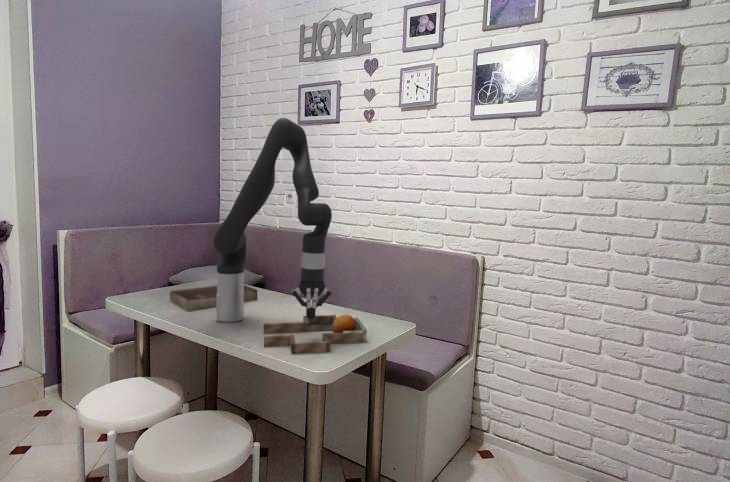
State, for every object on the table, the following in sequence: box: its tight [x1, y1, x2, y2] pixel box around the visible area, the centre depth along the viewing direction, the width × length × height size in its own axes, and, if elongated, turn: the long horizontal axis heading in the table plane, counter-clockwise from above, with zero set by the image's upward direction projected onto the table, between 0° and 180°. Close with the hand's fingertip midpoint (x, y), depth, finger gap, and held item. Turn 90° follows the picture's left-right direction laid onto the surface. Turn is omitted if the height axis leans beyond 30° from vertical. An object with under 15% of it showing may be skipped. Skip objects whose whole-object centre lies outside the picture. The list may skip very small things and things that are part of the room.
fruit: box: [332, 314, 356, 333], centre depth 149 cm, size 8×8×8 cm
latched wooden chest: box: [169, 284, 258, 312], centre depth 185 cm, size 29×19×5 cm, turn 133°
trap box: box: [262, 314, 368, 355], centre depth 146 cm, size 32×27×4 cm
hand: (310, 318), depth 145 cm, fingers closed
